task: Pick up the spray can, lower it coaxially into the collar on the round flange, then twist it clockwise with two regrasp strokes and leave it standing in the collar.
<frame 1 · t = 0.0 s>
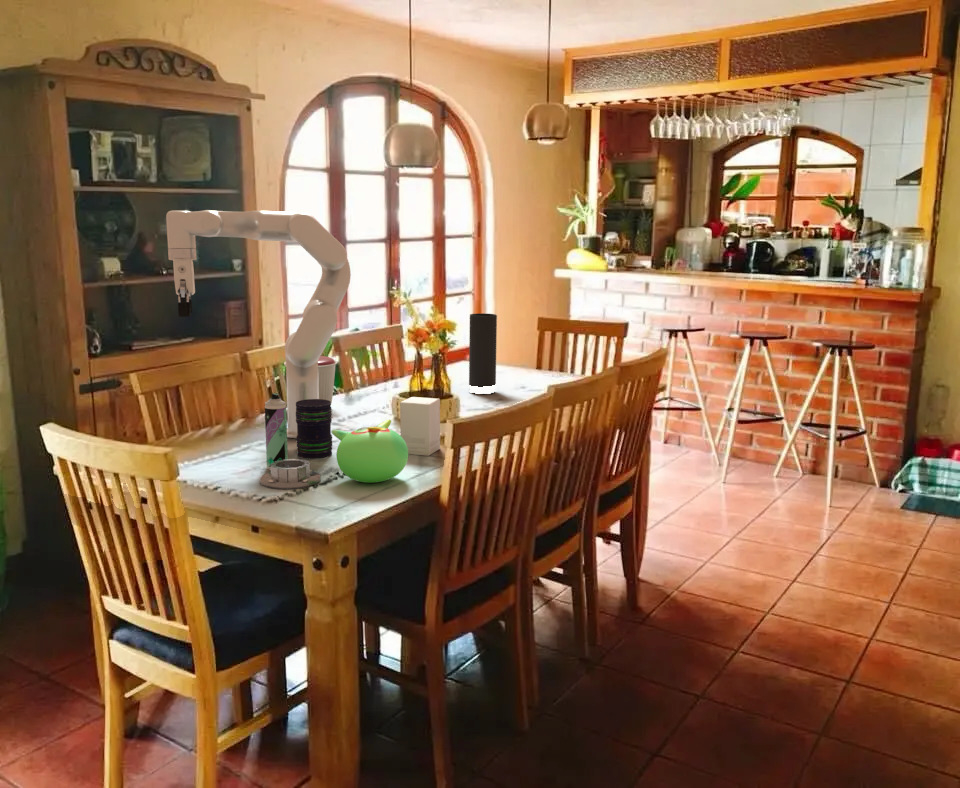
hand: (185, 314, 252), 37 cm above the table, tool pointing down, fingers open, 9 cm apart
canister: (311, 409, 304), on the table
storage jar: (314, 455, 245), on the table
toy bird: (372, 481, 222), on the table
spray can: (277, 468, 232), on the table
black tall cylinder: (482, 392, 337), on the table
collar: (290, 480, 221), on the table
supplement box: (420, 451, 250), on the table
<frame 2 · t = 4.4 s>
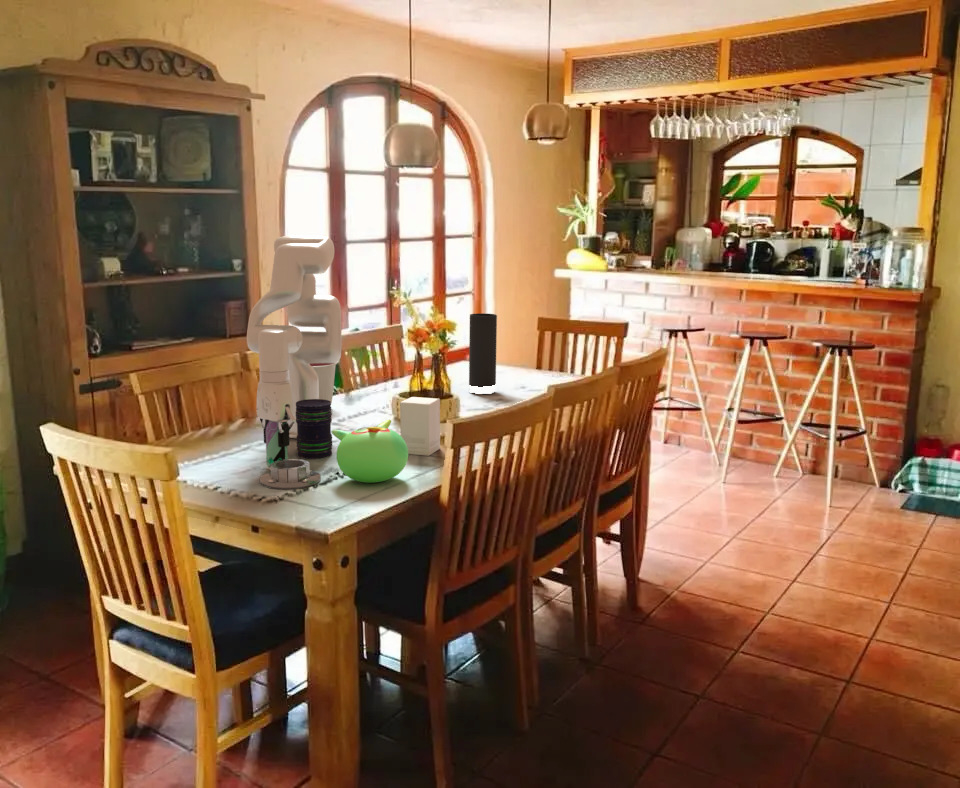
hand: (276, 443, 231), 7 cm above the table, tool pointing down, fingers closed on spray can, 5 cm apart
spray can: (277, 468, 232), on the table, touching gripper
everything else where it was.
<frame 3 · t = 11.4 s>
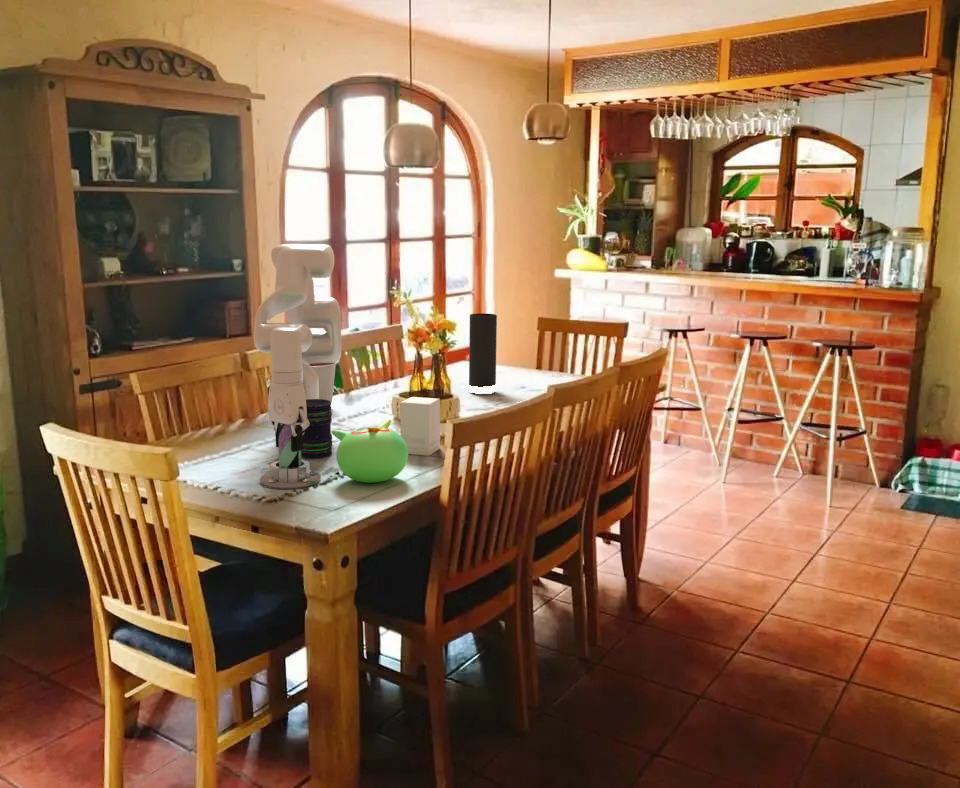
hand: (289, 447, 219), 8 cm above the table, tool pointing down, fingers closed on spray can, 5 cm apart
spray can: (290, 477, 221), point 1 cm above the table, touching collar, gripper
everything else where it was.
when the fingers open (10 cm above the table, at t = 15.4 s): spray can drops 1 cm, resting on collar.
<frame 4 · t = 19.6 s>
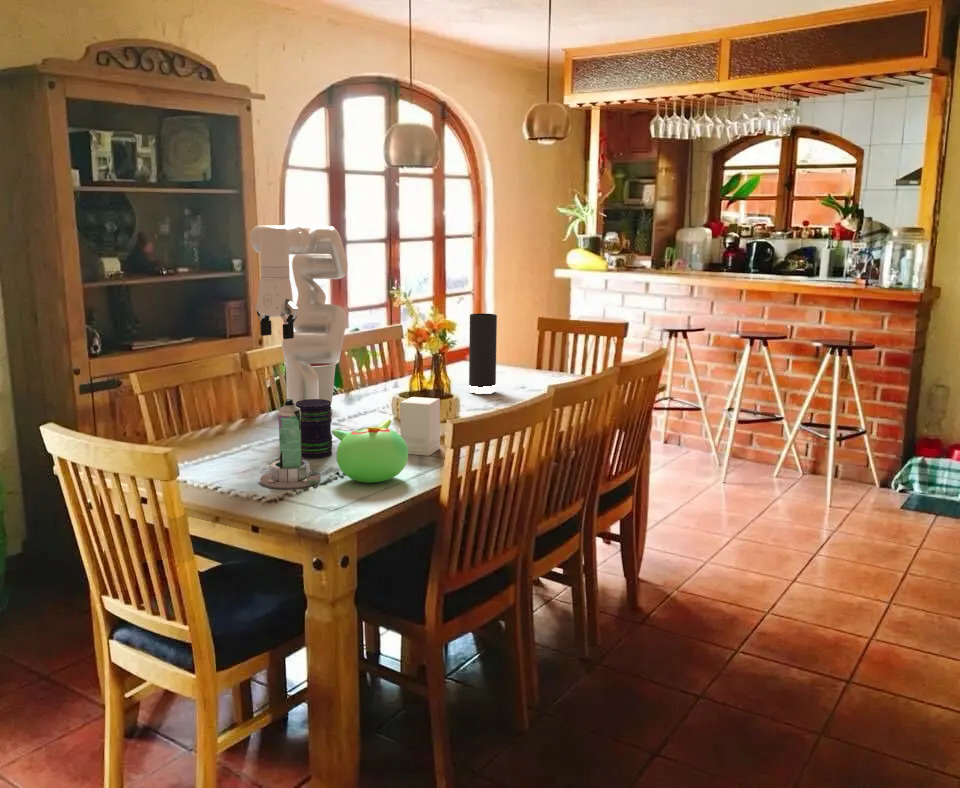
hand: (277, 336, 237), 33 cm above the table, tool pointing down, fingers open, 9 cm apart
spray can: (291, 477, 221), point 1 cm above the table, touching collar
everything else where it was.
at the end: spray can 0.3 cm off-centre on the collar, point 0.6 cm above the collar's base; spray can tilted 0°; the gripper is holding nothing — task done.
